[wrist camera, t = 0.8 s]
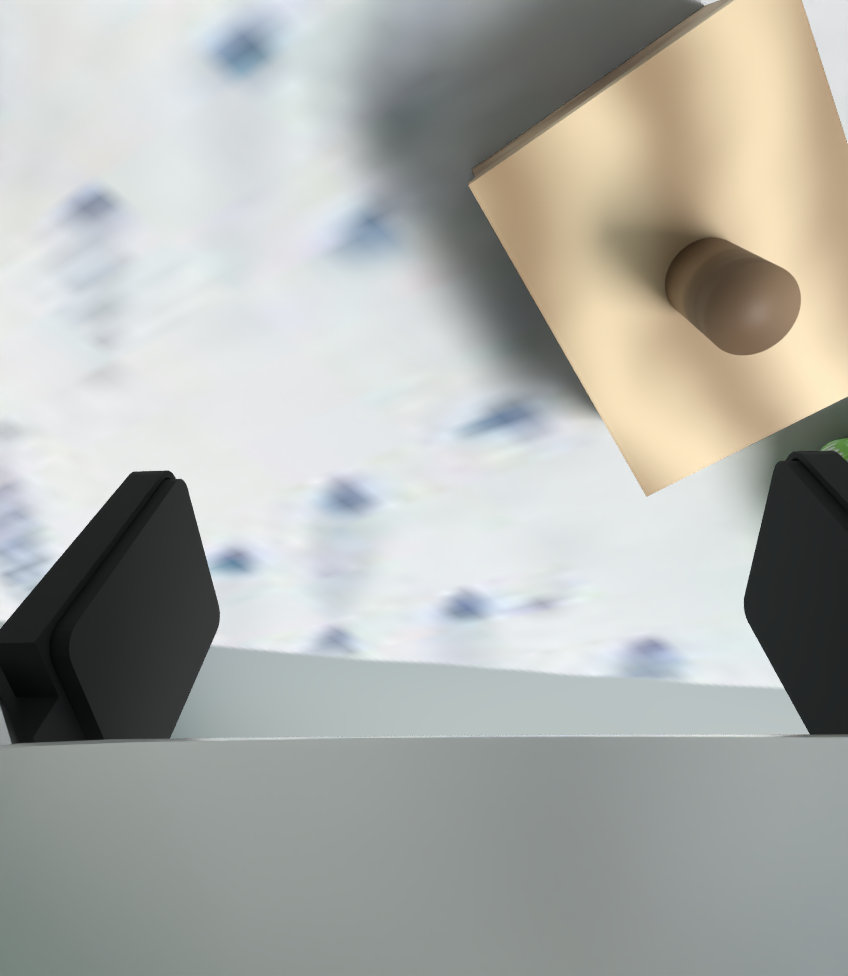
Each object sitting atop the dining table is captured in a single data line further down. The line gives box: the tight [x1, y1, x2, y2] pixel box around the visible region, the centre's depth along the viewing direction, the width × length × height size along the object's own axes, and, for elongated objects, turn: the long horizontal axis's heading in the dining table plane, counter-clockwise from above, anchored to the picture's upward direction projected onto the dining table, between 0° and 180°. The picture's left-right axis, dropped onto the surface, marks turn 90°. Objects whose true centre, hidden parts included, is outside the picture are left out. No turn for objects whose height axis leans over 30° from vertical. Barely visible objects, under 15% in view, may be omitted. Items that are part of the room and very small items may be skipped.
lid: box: [468, 0, 848, 497], centre depth 26 cm, size 13×17×6 cm
